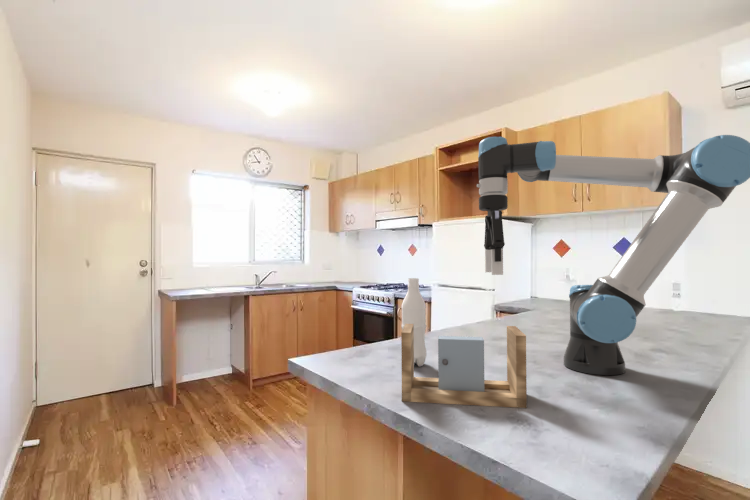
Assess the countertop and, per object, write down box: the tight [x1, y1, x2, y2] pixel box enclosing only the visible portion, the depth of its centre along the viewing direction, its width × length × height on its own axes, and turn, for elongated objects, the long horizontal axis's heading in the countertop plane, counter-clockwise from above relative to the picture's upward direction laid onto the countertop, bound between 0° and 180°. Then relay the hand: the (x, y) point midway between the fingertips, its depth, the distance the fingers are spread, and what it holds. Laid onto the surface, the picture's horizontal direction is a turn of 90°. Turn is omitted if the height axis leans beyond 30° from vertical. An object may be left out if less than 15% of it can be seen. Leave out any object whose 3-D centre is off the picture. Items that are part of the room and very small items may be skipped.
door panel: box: [437, 335, 485, 392], centre depth 89 cm, size 10×4×12 cm, turn 81°
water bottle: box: [400, 277, 427, 368], centre depth 114 cm, size 7×7×25 cm
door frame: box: [400, 324, 528, 409], centre depth 89 cm, size 26×11×15 cm, turn 81°
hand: (493, 273), depth 107 cm, fingers open, 13 cm apart
